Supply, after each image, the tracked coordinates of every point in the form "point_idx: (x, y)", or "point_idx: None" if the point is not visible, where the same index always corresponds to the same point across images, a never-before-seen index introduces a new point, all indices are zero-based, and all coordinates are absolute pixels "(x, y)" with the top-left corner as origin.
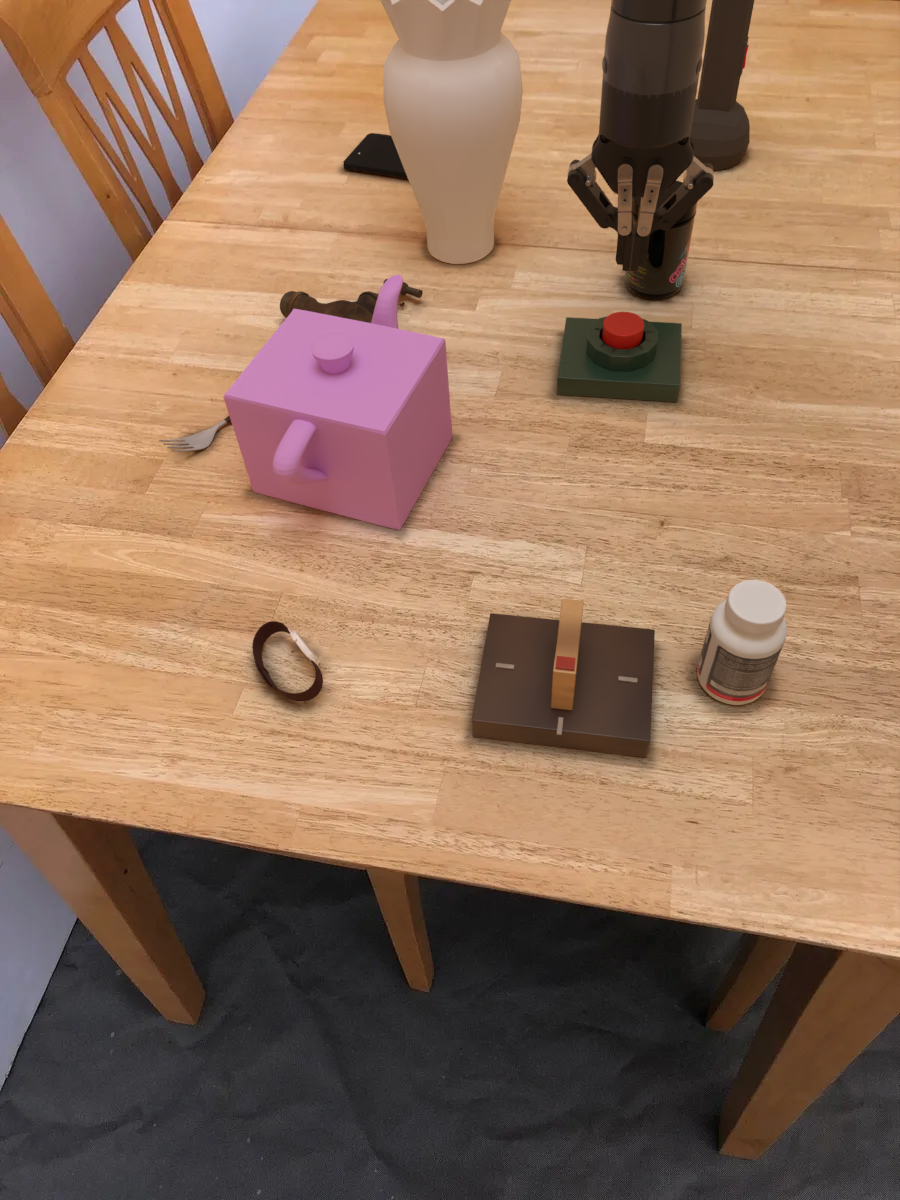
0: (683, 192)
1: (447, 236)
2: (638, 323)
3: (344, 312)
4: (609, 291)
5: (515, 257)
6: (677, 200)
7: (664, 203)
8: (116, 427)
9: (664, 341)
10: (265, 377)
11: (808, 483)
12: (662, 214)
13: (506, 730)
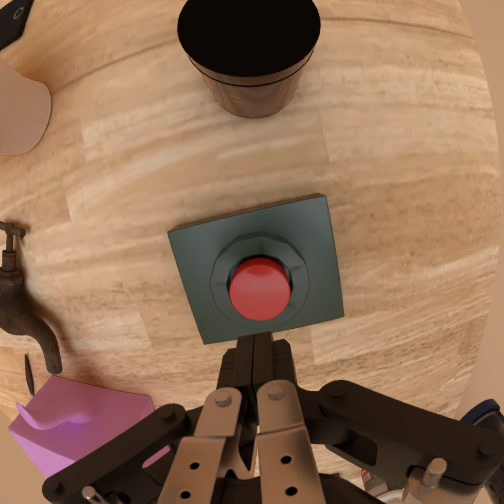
0: (399, 474)
1: (3, 154)
2: (281, 289)
3: (4, 328)
4: (199, 115)
5: (75, 103)
6: (378, 470)
7: (336, 416)
8: (6, 393)
9: (311, 243)
10: None
11: (440, 352)
12: (334, 443)
13: None
